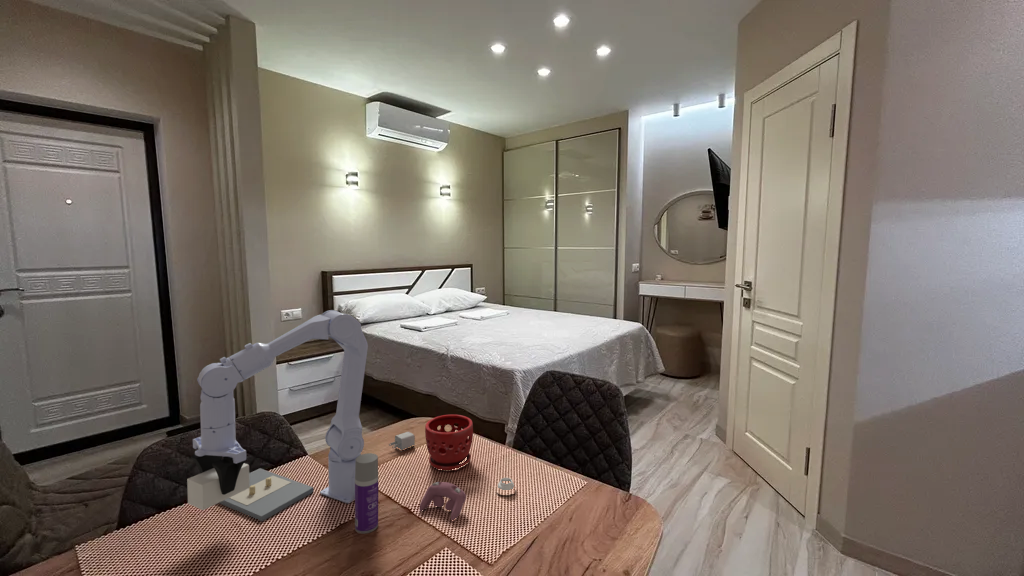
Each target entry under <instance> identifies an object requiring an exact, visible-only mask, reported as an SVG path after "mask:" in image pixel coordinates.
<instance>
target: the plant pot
mask: <svg viewBox="0 0 1024 576" xmlns="http://www.w3.org/2000/svg"><path fill="white" fill-rule="evenodd" d="M455 424H457V427H456V426H455ZM448 425H449V426H450V427H451V429H450V430H449V431H447V430H446V429H445V428H446V426H448ZM439 426H440V429H439ZM424 427H425V428H424V430H425V431H424V432H425V433H424V434H425V442H426V443H425V444H426V449H427V451H428V454H429V457H428V462H429V464H430V466H431V465H432V466H433V467H432V468H434V467H435V468H437V469H442V470H452V469H455V468H459V467H461V466H463V465H465V464H466V463H468V462H469V463H470V461H471V453H470V451H471V448H472V445H473V437H474V425H473V420H472V419H471V418H470V417H468V416H465V415H461V414H443V415H438V416H435V417H433V418H431V419H429V420H428V421H427V422H426V423H425V425H424ZM466 457H467V460H466V461H465V462H464V463H462V464H459V463H460V462H462V461H463V460H464V459H465V458H466ZM469 463H468V464H469ZM435 468H434V469H435ZM437 469H436V470H437Z"/></svg>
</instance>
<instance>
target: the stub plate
mask: <svg viewBox="0 0 1024 576" xmlns="http://www.w3.org/2000/svg"><path fill="white" fill-rule="evenodd" d="M249 487H250V488H248V489H246V490H244V491H242V492H240V493H238V494H236V495H234V496H232V497H230V498H227V499H225V500H223V501H221V502H219V503H218V504H220V505H222V506H225V507H227V508H230V509H232V510H234V511H236V510H237V511H236V512H238V511H239V512H238V513H241V512H242V513H241V514H243V513H244V514H243V515H245V514H246V516H247V515H249V516H248V517H250V516H251V517H250V518H252V517H253V518H252V519H254V518H255V519H254V520H256V519H258V520H257V521H259V520H260V521H259V522H261V521H262V522H263V521H265V520H267V519H269V518H270V517H272V516H274V515H276V514H277V513H280V512H282V511H283V510H284V509H286V508H289V507H290V506H291V505H293V504H295V503H297V502H298V501H301V500H303V498H306V497H307V496H309V495H311V494H312V492H313V493H314V487H313V486H310V485H309V484H306V483H302V482H300V481H298V480H294V479H291V478H288V477H286V476H284V475H283V476H282V475H280V474H277V473H274V472H272V471H269V470H265V469H264V468H261V467H260V468H258V469H255V470H254V471H251V472H249Z"/></svg>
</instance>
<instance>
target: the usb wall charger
mask: <svg viewBox="0 0 1024 576" xmlns="http://www.w3.org/2000/svg"><path fill="white" fill-rule="evenodd" d="M415 439H416V437H415V434H414V433H412V432H410V431H405V432H403V433H399V434H396V435H395V436H394V441H393V442H390V443H388V447H391V446H392V449H396V447H398V448H400V449H401V450H403V449H405V448H408V447H410V446H412V445H415V444H416V442H415ZM415 446H416V445H415Z"/></svg>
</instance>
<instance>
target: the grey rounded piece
mask: <svg viewBox="0 0 1024 576" xmlns="http://www.w3.org/2000/svg"><path fill="white" fill-rule="evenodd" d="M502 481H510V482H511V483H508V484H505V483H502ZM497 485H498V488H500V489H502V490H510V489H513V487H514V485H515V484H514V482H513V480H512V478H510V477H503V478H500V480H499V482H498V483H497Z"/></svg>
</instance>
